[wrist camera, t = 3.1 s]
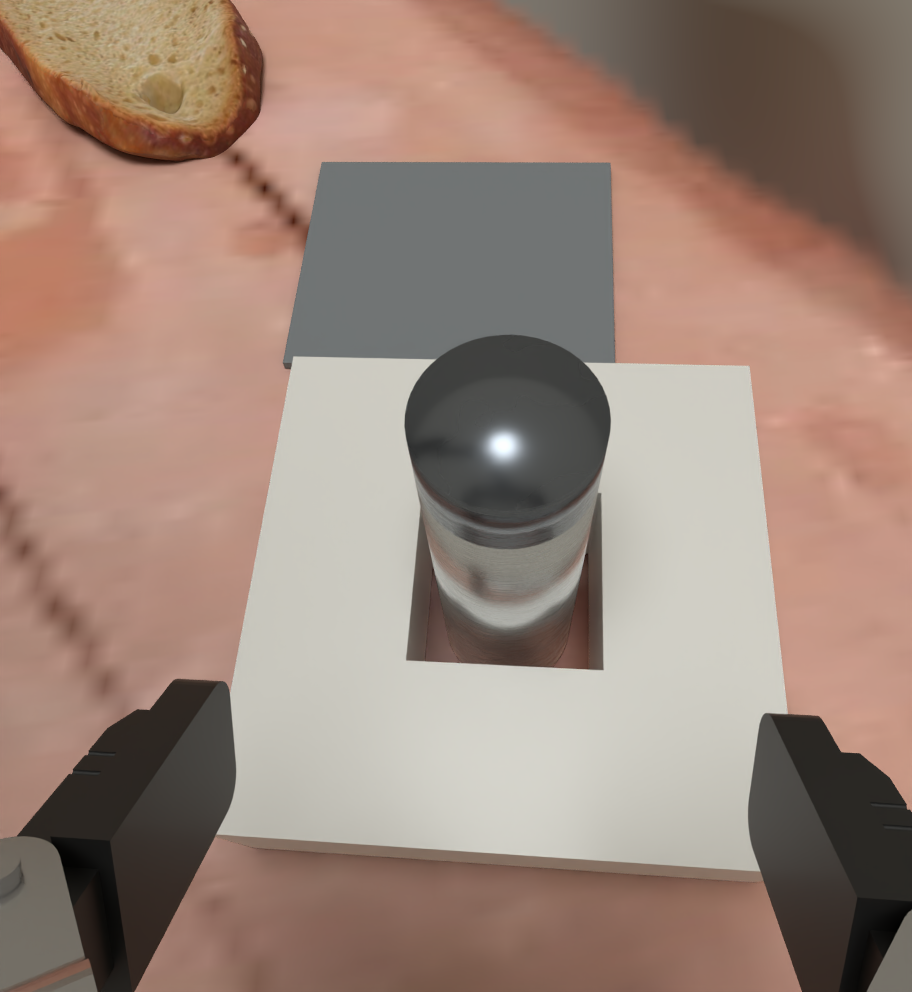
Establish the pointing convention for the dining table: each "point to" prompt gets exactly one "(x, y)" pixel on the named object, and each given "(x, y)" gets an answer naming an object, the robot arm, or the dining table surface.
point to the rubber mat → (455, 259)
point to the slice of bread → (140, 70)
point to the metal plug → (507, 491)
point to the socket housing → (499, 688)
